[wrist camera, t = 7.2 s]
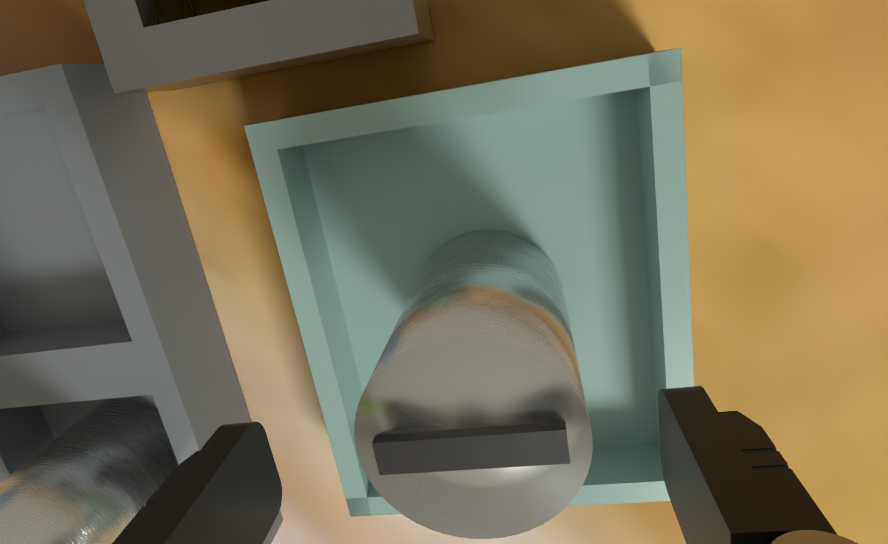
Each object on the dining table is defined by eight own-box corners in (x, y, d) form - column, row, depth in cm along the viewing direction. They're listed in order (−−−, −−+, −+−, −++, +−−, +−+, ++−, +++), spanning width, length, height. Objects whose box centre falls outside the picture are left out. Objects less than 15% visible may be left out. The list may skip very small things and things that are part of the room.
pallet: (-84, 109, 21) (-194, 117, 17) (137, 64, 19) (60, 63, 16) (102, 529, 26) (45, 592, 23) (283, 520, 25) (248, 586, 22)
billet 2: (555, 219, 18) (582, 330, 10) (570, 358, 20) (604, 545, 12) (404, 239, 19) (325, 356, 11) (430, 371, 21) (377, 553, 13)
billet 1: (173, 394, 22) (-16, 572, 14) (212, 500, 23) (60, 713, 16) (61, 405, 23) (-176, 578, 15) (105, 506, 24) (-88, 711, 17)
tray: (656, 51, 17) (681, 48, 14) (676, 446, 21) (698, 499, 19) (281, 118, 19) (244, 125, 16) (369, 466, 23) (350, 516, 21)
